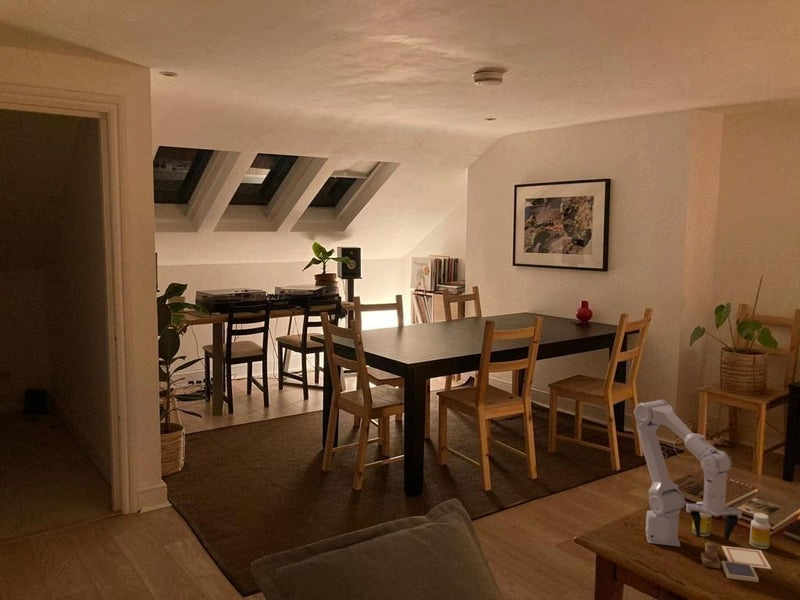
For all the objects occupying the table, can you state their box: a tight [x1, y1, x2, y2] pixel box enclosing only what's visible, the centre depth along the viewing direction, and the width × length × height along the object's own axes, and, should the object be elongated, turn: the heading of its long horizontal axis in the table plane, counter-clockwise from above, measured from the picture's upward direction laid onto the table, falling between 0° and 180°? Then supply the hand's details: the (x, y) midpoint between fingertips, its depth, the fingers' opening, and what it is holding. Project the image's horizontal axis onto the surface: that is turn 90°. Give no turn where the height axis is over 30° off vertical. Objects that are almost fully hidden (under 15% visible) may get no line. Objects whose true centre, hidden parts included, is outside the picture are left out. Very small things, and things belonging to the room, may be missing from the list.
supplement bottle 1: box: [691, 501, 712, 537], centre depth 209 cm, size 5×5×10 cm
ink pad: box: [720, 560, 760, 583], centre depth 186 cm, size 8×8×1 cm
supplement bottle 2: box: [749, 512, 771, 550], centre depth 202 cm, size 5×5×10 cm
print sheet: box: [721, 545, 772, 570], centre depth 194 cm, size 11×11×1 cm
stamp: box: [700, 541, 722, 569], centre depth 191 cm, size 4×4×6 cm
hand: (712, 537), depth 190 cm, fingers open, 7 cm apart
